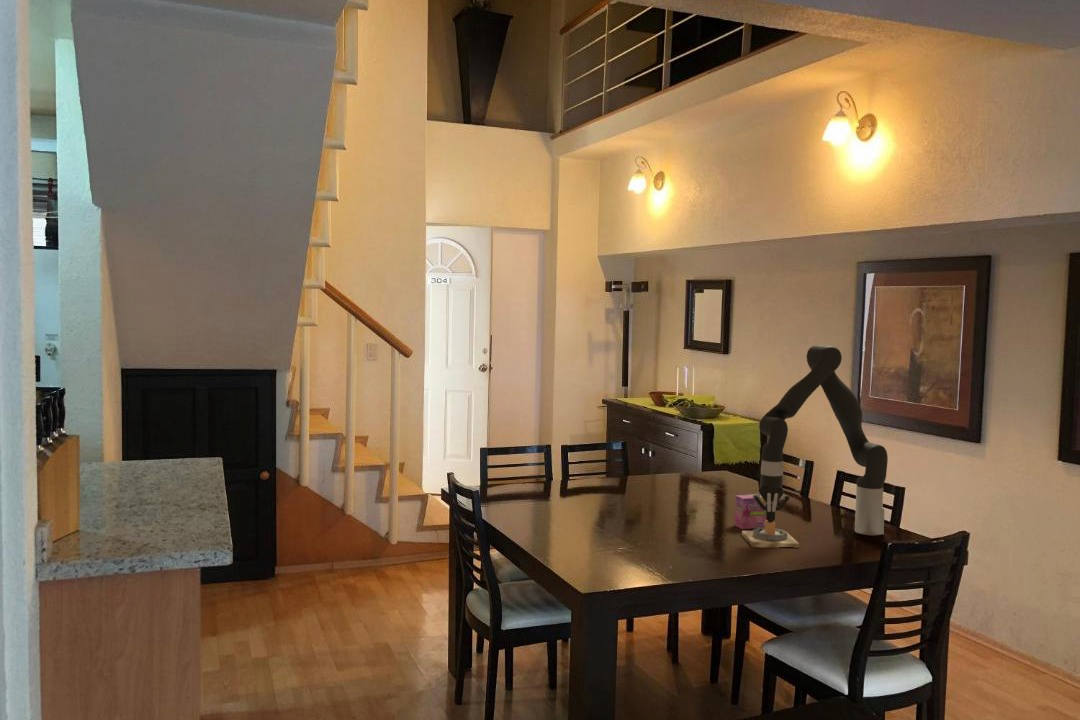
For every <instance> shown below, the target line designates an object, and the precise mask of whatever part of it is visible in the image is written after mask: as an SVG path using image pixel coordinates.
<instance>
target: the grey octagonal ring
mask: <svg viewBox="0 0 1080 720" xmlns="http://www.w3.org/2000/svg"><path fill="white" fill-rule="evenodd" d="M763 530H765V527H759V528H752V531H753V536H754V537H755V538H756V539H761V540H765V541H783V540H785V539H787V533H788V532H787V531H786V530H784V529H780V528H776V527H775V531H777V532H779V533H780V534H779V535H769V534H764V533H760V531H763ZM785 531H786V532H787V533H786V532H785Z"/></svg>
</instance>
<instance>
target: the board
mask: <svg viewBox="0 0 1080 720" xmlns="http://www.w3.org/2000/svg"><path fill="white" fill-rule="evenodd" d="M784 531H785V532H786V533H787V539H785V540H783V541H765V540H761V539H756V538H755V537H754V536H753V530H742V531H741V536H742V537H743V538H744V539H745V541H746V542H747V543H748V542H749V543H748V544H749V545H750V546H751V548H779V547H794V549H795V548H796V549H797V548H798V549H799V548H800V543H799V542H798V541H797V540H796V539H795V538H794V537H793V536H792V535H790V534H789V533H788V532H787V531H786V530H784Z"/></svg>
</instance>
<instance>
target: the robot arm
mask: <svg viewBox="0 0 1080 720" xmlns="http://www.w3.org/2000/svg"><path fill="white" fill-rule="evenodd" d="M842 357H843V356H842V352H841V351H840V350H839V349H838V348H837V347H836V346H831V345H820V344H818V345H817V344H816V345H812V346H811V347H810V348H809V349H808V350H807V352H806V362H807V365H808V367H809V369H810V371H809V372H808V373H807V374H806V375H805V376H804V377H803V378H802V379H800V380H799V381H798V382H796V383H795V384H793V385H792V386H791V387H790V388H789V389H788V390H787V391H786V392H785V393H784V395H783V396H782V398H781V399H780V400H779V401H778V403H777V404H776V405H775V406H773V407H772V408H771V409H770V410H769V411H767V412H766V413H765V414H764V415H763V417H762V418H761V420H760V421H759V426H758V428H759V432H760V433H761V434H763V435H765V436H768V437H769V438H768V442H767V443H766V442H765V443H764V444H763V445H762V450H761V451H762V452H761V465H760V482H759V483H760V485H759V486H760V487H759V489H758V492H756V493H755V494H756V495H753V498H754V499H755V500H756V502H757V503H758V504H759V506H760V507H761V508H762V509H763V510H766V520H767V521H768V522H773V521H774V522H775V519H776V512H777V511H780V510H782V509H783V507H784V506H785V505H786V503H787V502H788V501H789V500H790V497H789V496H788V495H787V494H786V493H785V491H784V489H783V483H784V482H783V480H784V478H783V477H784V466H783V465H784V463H783V460H784V459H783V458H784V455H783V454H784V448H785V443H786V440H787V437H788V434H789V433H788V431H789V427H788V424H787V421H786V420H787V419H790V418H794V417H795V416H796V415H797V413H798V412H799V411H800V409H801V408H802V407H803V405H804V404H805V403H806V401H807V399H809V397H810V396H811V395H812V394H813V393H814V392H815V391H816V390H817V389H818V388H819V387H820V386H821V388H822V391H823V393H824V394H825V397H826V399H827V400H828V403H829V405H830V407H831V409H832V412H833V414H834V416H835V418H836V420H837V421H838V424H839V425H840V428H841V430H842V433H843V434H844V436H845V439H846V441H847V443H848V447H849V449H850V453H851V455H852V458H853V460H854V462H855V463H856V464H857V465H859V466H860V467H863V468H865V471H864V474H863V475H862V476H859V477H857V478H856V491H855V495H856V496H855V514H854V515H855V516H854V517H855V518H854V532H855V533H856V534H859V535H866V536H880V535H884V534H885V533H884V531H885V510H886V509H885V508H883V504H884V503H883V502H884V501H883V500H884V484H885V481H886V479H887V472H888V471H887V470H888V460H889V459H888V451H887V449H886V448H885V446H883V445H882V444H881V445H880V444H878V443H873V442H870V441H869V440H868V439H867V437H866V435H865V432H864V430H863V426H862V425H863V410H862V407H861V405H860V403H859V401H858V399H857V397H856V395H855V394H854V392H853V391H852V390H851V389H850V388H849V387H848V386H847V385H846V383H845V382H843V381H842V380H841V379H840V377H839V376H838V375H837V374H836V372H835V371H836V370H837V369H838V368H839V367H840V366H841V364H842V359H843V358H842ZM760 495H761V496H762V498H763V499H764V500H765V505H766V506H764V505H763V503H762V502H761V501H760V499H761V497H760Z"/></svg>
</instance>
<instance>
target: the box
mask: <svg viewBox="0 0 1080 720" xmlns="http://www.w3.org/2000/svg"><path fill="white" fill-rule="evenodd" d="M756 494H757V493H754V494H753V493H752V494H738V495H737V494H736V495H735V499H734V500H735V508H734V526H735V527H736V528H738V527H739V528H738V529H740V530H747V529H748V530H749V529H756V528H759V527H765V520H766V510H763V509H762V508H761V507H760V506H759V504H758V503H757V502H756V500H755V499H754V498H753V495H756ZM760 497H761V499H760V501H761V502H762V503H763V505H764V506H766V505H765V500H764V499H763V498H762V496H761V495H760Z"/></svg>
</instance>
